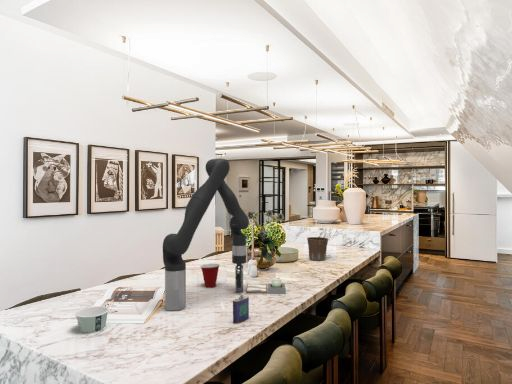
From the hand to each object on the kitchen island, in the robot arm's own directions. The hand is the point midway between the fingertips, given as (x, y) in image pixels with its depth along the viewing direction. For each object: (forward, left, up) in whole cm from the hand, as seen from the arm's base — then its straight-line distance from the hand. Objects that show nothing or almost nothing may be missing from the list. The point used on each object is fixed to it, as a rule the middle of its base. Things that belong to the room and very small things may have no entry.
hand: (239, 286), depth 189 cm
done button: (+1, -20, -1) cm, 20 cm away
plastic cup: (+10, +17, -3) cm, 20 cm away
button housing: (+1, -19, -3) cm, 20 cm away
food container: (-51, +53, -3) cm, 74 cm away
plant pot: (+88, -53, -3) cm, 103 cm away
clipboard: (+5, -9, -3) cm, 11 cm away
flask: (-41, -4, -3) cm, 41 cm away
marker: (0, 0, -3) cm, 3 cm away
